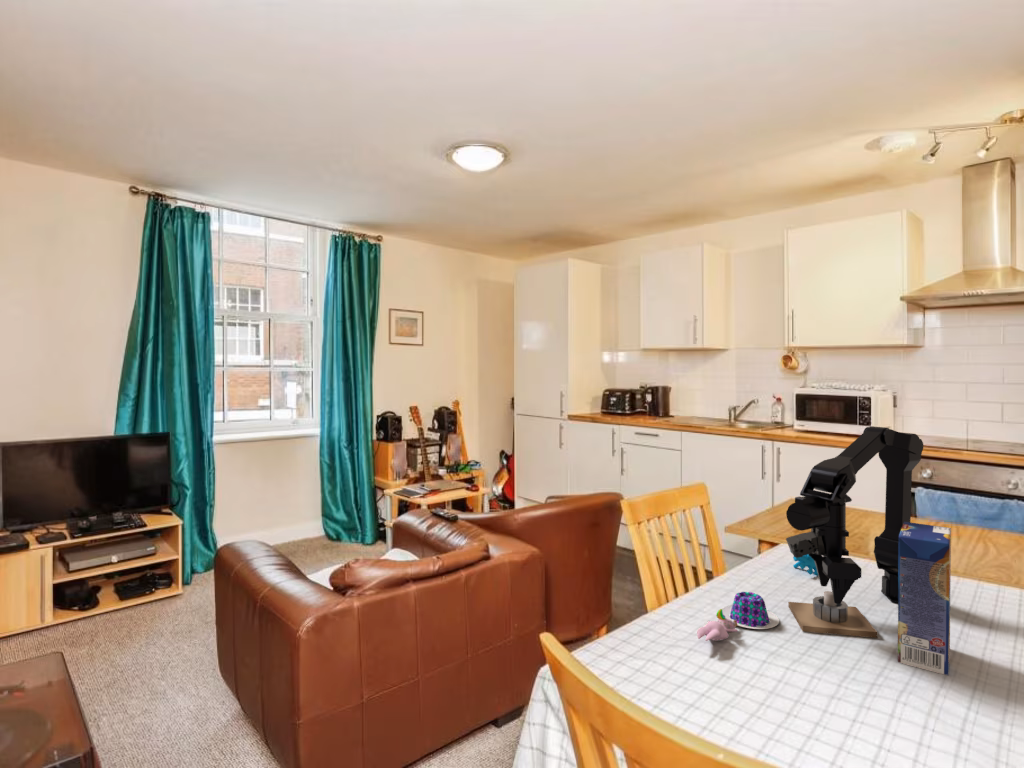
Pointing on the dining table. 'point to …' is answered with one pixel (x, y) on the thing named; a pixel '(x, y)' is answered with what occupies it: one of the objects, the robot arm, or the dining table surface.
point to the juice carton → (924, 596)
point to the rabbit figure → (717, 628)
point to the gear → (806, 564)
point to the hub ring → (830, 611)
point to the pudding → (750, 611)
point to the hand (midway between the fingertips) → (830, 594)
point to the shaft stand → (810, 623)
